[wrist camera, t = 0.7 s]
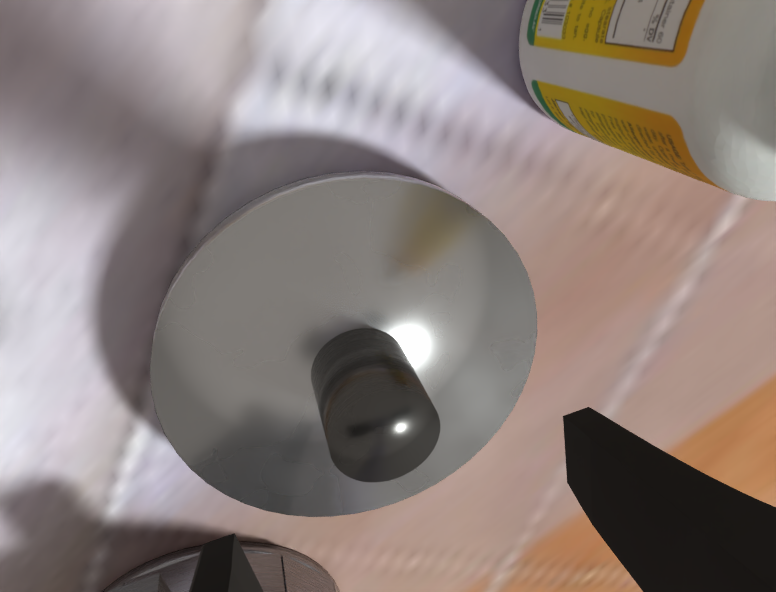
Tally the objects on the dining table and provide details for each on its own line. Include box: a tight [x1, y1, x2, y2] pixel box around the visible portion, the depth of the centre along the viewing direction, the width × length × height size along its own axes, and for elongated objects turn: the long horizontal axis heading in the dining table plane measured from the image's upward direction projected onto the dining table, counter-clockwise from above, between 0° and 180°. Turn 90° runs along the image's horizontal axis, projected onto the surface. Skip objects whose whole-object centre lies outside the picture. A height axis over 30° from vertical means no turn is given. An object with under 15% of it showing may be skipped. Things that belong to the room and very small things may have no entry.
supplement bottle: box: [519, 0, 776, 201], centre depth 12 cm, size 5×5×10 cm
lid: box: [150, 171, 537, 517], centre depth 16 cm, size 11×11×5 cm
